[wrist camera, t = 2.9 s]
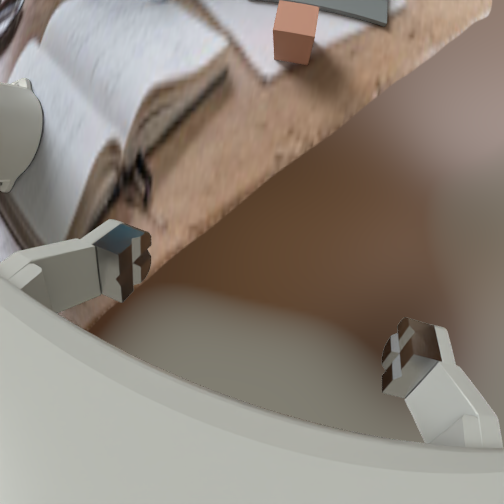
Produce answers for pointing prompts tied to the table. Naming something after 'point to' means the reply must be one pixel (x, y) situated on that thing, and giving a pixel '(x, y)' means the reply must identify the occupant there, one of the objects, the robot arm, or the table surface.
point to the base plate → (351, 8)
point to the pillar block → (294, 31)
